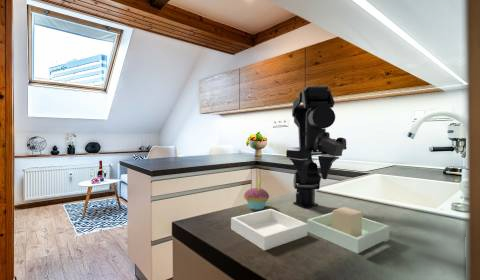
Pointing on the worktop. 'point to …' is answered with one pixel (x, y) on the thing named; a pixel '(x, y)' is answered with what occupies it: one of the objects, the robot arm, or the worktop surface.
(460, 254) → the worktop surface
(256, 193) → the cupcake
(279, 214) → the bin
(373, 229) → the bin
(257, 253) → the worktop surface
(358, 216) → the beige plain cubic block
